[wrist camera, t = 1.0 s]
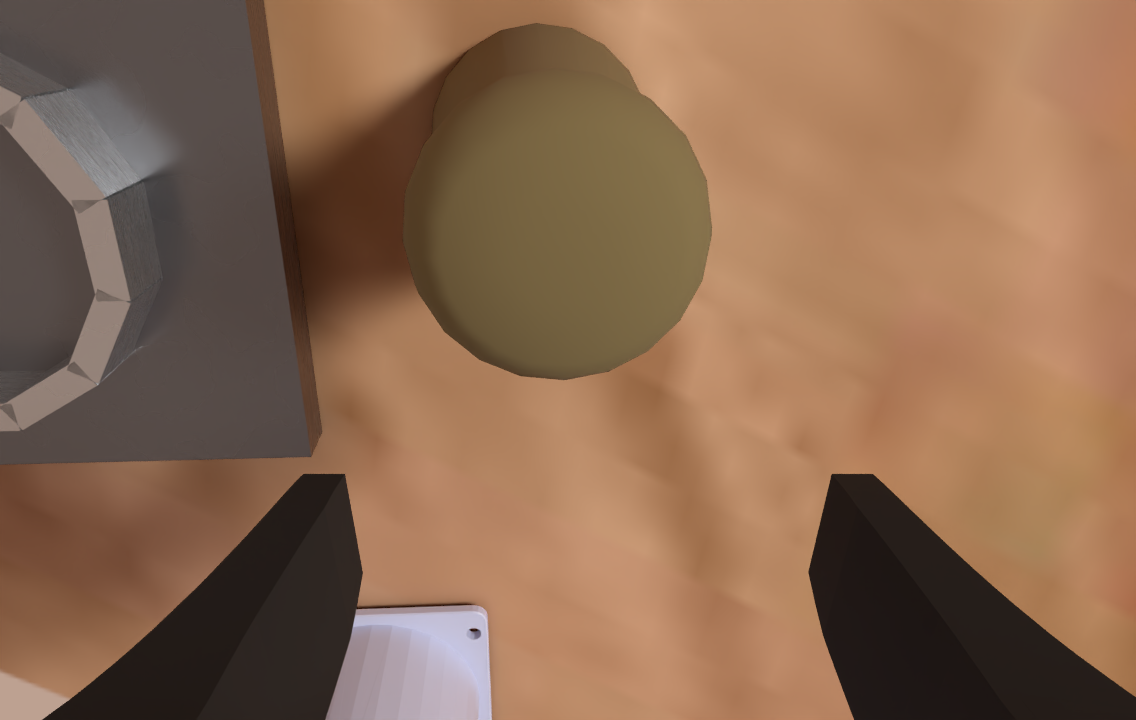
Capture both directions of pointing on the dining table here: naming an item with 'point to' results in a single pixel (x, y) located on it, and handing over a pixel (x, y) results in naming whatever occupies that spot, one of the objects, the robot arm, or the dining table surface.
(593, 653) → the dining table surface
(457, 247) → the cork
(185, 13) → the plate
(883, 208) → the dining table surface
